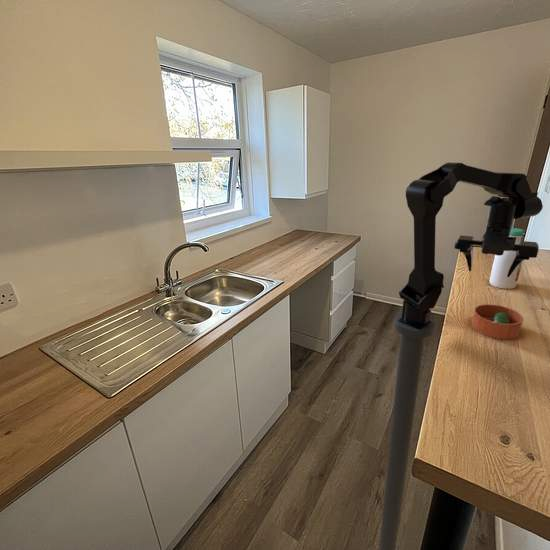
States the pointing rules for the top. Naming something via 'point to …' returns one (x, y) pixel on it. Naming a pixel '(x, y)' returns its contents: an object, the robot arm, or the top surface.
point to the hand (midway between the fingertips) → (488, 273)
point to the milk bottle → (506, 265)
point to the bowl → (486, 326)
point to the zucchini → (501, 318)
